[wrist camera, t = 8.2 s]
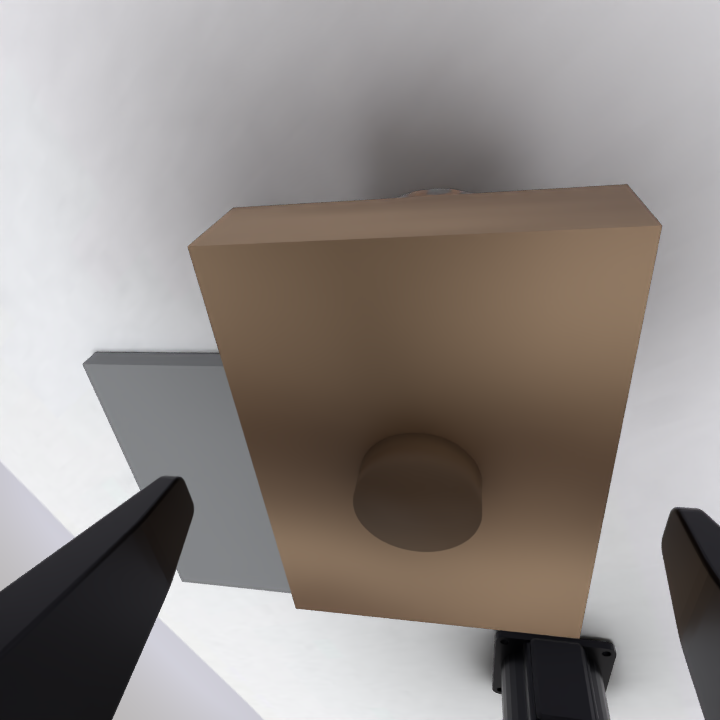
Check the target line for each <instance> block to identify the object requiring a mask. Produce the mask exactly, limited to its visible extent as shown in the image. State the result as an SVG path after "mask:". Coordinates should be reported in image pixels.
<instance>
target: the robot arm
mask: <svg viewBox="0 0 720 720" xmlns="http://www.w3.org/2000/svg"><path fill="white" fill-rule="evenodd" d="M193 515H194V503H193V500H192V498H191V495H190V492H189V490H188V487H187V485H186V482H185V480H184V479H183V478H182V477H180V476H169V475H164V476H161V477H159V478H158V479H156V480H155V481H153V482H152V483H151V484H149V485H148V486H146V487H145V488H144V489H142V490H141V491H139V492H138V493H137V494H135V495H134V496H132V497H131V498H130V499H128V500H127V501H125V502H124V503H123V504H121V505H120V506H119V507H117V508H116V509H114V510H113V511H112V512H110V513H109V514H107V515H106V516H105V517H103V518H102V519H100V520H99V521H98V522H96V523H95V524H93V525H92V526H91V527H89V528H88V529H86V530H85V531H84V532H82V533H81V534H80V535H78V536H77V537H75V538H74V539H73V540H71V541H70V542H68V543H67V544H66V545H64V546H63V547H61V548H60V549H59V550H57V551H56V552H55V553H53V554H52V555H50V556H49V557H47V558H46V559H45V560H43V561H42V562H41V563H39V564H38V565H36V566H35V567H34V568H32V569H31V570H29V571H28V572H27V573H25V574H24V575H22V576H21V577H20V578H18V579H17V580H16V581H14V582H13V583H11V584H10V585H9V586H7V587H6V588H4V589H3V590H2V591H0V720H112V719H113V716H114V714H115V712H116V710H117V707H118V705H119V703H120V700H121V698H122V696H123V694H124V691H125V689H126V687H127V685H128V682H129V680H130V678H131V675H132V673H133V671H134V669H135V666H136V664H137V662H138V659H139V657H140V655H141V653H142V650H143V648H144V646H145V643H146V641H147V639H148V637H149V634H150V632H151V630H152V627H153V625H154V623H155V621H156V618H157V616H158V614H159V612H160V609H161V607H162V605H163V603H164V600H165V598H166V596H167V593H168V591H169V588H170V586H171V583H172V580H173V577H174V574H175V571H176V568H177V565H178V562H179V559H180V556H181V553H182V550H183V547H184V543H185V540H186V537H187V534H188V531H189V528H190V525H191V522H192V519H193ZM662 555H663V560H664V565H665V570H666V575H667V580H668V585H669V590H670V595H671V600H672V605H673V610H674V615H675V620H676V624H677V629H678V634H679V638H680V642H681V646H682V649H683V653H684V656H685V659H686V662H687V666H688V669H689V672H690V675H691V678H692V681H693V684H694V687H695V690H696V693H697V697H698V700H699V703H700V706H701V709H702V712H703V715H704V718H705V720H720V526H719V525H718V524H717V523H716V522H715V521H714V520H713V519H712V518H710V517H709V516H708V515H707V514H706V513H705V512H704V511H702V510H700V509H697V508H684V507H675V508H673V509H672V510H671V512H670V515H669V518H668V521H667V524H666V527H665V530H664V534H663V537H662ZM615 658H616V650H615V646H614V645H613V644H612V643H609V642H603V641H594V640H585V639H576V638H567V637H558V636H549V635H540V634H531V633H522V632H512V631H498V632H496V634H495V649H494V664H493V680H492V688H493V691H494V692H496V693H499V694H502V709H503V720H610V715H609V709H608V704H607V699H606V694H605V692H606V688H607V685H608V682H609V678H610V675H611V671H612V668H613V665H614V661H615Z"/></svg>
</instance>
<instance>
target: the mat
mask: <svg viewBox="0 0 720 720" xmlns="http://www.w3.org/2000/svg"><path fill="white" fill-rule="evenodd" d="M83 367H84V369H85V371H86V373H87V375H88V377H89V380H90V382H91V384H92V386H93V388H94V390H95V393H96V395H97V397H98V399H99V401H100V404H101V406H102V408H103V410H104V412H105V414H106V417H107V419H108V421H109V423H110V425H111V427H112V430H113V432H114V434H115V436H116V438H117V441H118V443H119V445H120V447H121V449H122V451H123V454H124V456H125V458H126V460H127V462H128V465H129V467H130V469H131V471H132V473H133V475H134V478H135V480H136V482H137V484H138V486H139V488H140V491H141V490H142V489H144V488H145V487H146V486H148V485H149V484H151V483H152V482H153V481H155V480H156V479H158V478H159V477H161V476H164V475H169V476H180V477H182V478H183V479H184V480H185V482H186V485H187V487H188V490H189V492H190V495H191V498H192V500H193V503H194V515H193V519H192V522H191V525H190V528H189V531H188V534H187V537H186V540H185V543H184V547H183V550H182V553H181V556H180V559H179V562H178V565H177V568H176V569H177V571H178V573H179V576H180V578H181V580H182V582H191V583H200V584H210V585H219V586H228V587H238V588H247V589H257V590H266V591H275V592H285V593H291V590H290V587H289V584H288V580H287V577H286V574H285V570H284V567H283V564H282V560H281V557H280V554H279V550H278V547H277V544H276V540H275V537H274V534H273V530H272V527H271V524H270V520H269V517H268V514H267V510H266V507H265V504H264V500H263V497H262V494H261V490H260V487H259V483H258V480H257V477H256V473H255V470H254V467H253V463H252V460H251V457H250V453H249V450H248V447H247V443H246V440H245V437H244V433H243V430H242V427H241V423H240V420H239V417H238V413H237V410H236V407H235V403H234V400H233V397H232V393H231V390H230V387H229V383H228V380H227V377H226V373H225V370H224V367H223V363H222V360H221V357H220V354H212V353H115V352H95V353H94V354H93V355H92V356H91V357H90V358H89V359H88V360H86V361H85V362H84V363H83Z"/></svg>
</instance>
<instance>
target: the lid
mask: <svg viewBox="0 0 720 720" xmlns="http://www.w3.org/2000/svg"><path fill="white" fill-rule="evenodd" d="M661 229H662V225H661V224H660V222H659V221H658V220H657V219H656V218H655V217H654V215H653V214H652V213H651V212H650V211H649V209H648V208H647V207H646V206H645V205H644V204H643V202H642V201H641V200H640V199H639V198H638V196H637V195H636V194H635V193H634V192H633V191H632V189H631V188H630V187H629V186H628V185H627V184H623V185H606V186H589V187H573V188H556V189H539V190H522V191H505V192H489V193H472V194H455V195H438V196H421V197H405V198H388V199H371V200H354V201H338V202H321V203H304V204H287V205H270V206H254V207H237V208H232V209H231V210H230V211H229V212H228V213H227V214H225V215H224V216H223V217H222V218H221V219H219V220H218V221H217V222H216V223H215V224H214V225H212V226H211V227H210V228H209V229H208V230H206V231H205V232H204V233H203V234H202V235H201V236H199V237H198V238H197V239H196V240H195V241H193V242H192V243H191V244H190V245H189V246H188V250H189V253H190V256H191V260H192V263H193V266H194V270H195V273H196V276H197V280H198V283H199V286H200V290H201V293H202V296H203V300H204V303H205V306H206V310H207V313H208V317H209V320H210V323H211V327H212V330H213V333H214V337H215V340H216V343H217V347H218V350H219V353H220V357H221V360H222V363H223V367H224V370H225V373H226V377H227V380H228V383H229V387H230V390H231V393H232V397H233V400H234V403H235V407H236V410H237V413H238V417H239V420H240V423H241V427H242V430H243V433H244V437H245V440H246V443H247V447H248V450H249V453H250V457H251V460H252V463H253V467H254V470H255V473H256V477H257V480H258V483H259V487H260V490H261V494H262V497H263V500H264V504H265V507H266V510H267V514H268V517H269V520H270V524H271V527H272V530H273V534H274V537H275V540H276V544H277V547H278V550H279V554H280V557H281V560H282V564H283V567H284V570H285V574H286V577H287V580H288V584H289V587H290V590H291V594H292V597H293V600H294V604H295V607H296V609H306V610H315V611H325V612H334V613H343V614H353V615H362V616H372V617H381V618H390V619H400V620H409V621H418V622H428V623H437V624H447V625H456V626H465V627H475V628H484V629H493V630H503V631H512V632H522V633H531V634H540V635H550V636H559V637H568V638H578V639H579V638H580V633H581V628H582V623H583V618H584V613H585V608H586V603H587V598H588V593H589V588H590V583H591V578H592V573H593V568H594V563H595V558H596V553H597V548H598V543H599V538H600V533H601V528H602V523H603V518H604V513H605V508H606V503H607V498H608V493H609V488H610V483H611V478H612V473H613V468H614V463H615V458H616V453H617V448H618V443H619V438H620V433H621V428H622V423H623V418H624V413H625V408H626V403H627V398H628V393H629V388H630V383H631V378H632V373H633V368H634V363H635V358H636V353H637V348H638V344H639V339H640V334H641V329H642V324H643V319H644V314H645V309H646V304H647V299H648V294H649V289H650V284H651V279H652V274H653V269H654V264H655V259H656V254H657V249H658V244H659V239H660V234H661Z"/></svg>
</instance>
